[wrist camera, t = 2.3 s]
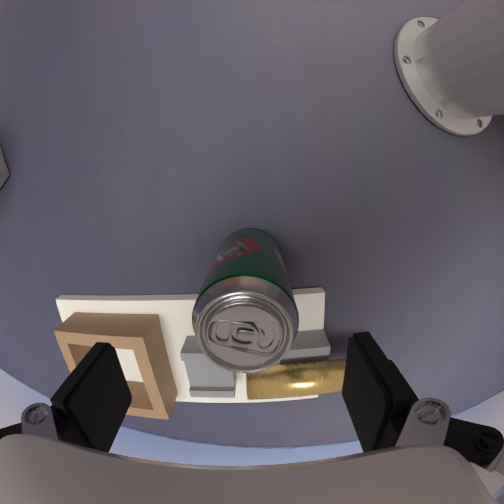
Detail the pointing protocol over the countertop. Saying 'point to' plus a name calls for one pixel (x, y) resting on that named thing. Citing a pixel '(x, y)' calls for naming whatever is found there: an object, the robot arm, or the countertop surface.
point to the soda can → (246, 305)
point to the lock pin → (296, 380)
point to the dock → (173, 346)
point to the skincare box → (3, 169)
